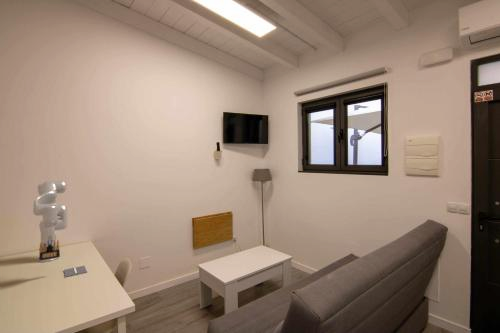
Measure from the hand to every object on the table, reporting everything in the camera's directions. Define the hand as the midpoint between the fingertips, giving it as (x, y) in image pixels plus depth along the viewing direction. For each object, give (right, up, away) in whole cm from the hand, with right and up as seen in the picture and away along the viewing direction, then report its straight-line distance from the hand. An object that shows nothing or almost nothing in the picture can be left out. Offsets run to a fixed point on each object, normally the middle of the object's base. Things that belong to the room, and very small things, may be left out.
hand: (49, 251), depth 166 cm
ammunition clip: (0, -5, 0) cm, 5 cm away
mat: (+12, -17, +8) cm, 22 cm away
